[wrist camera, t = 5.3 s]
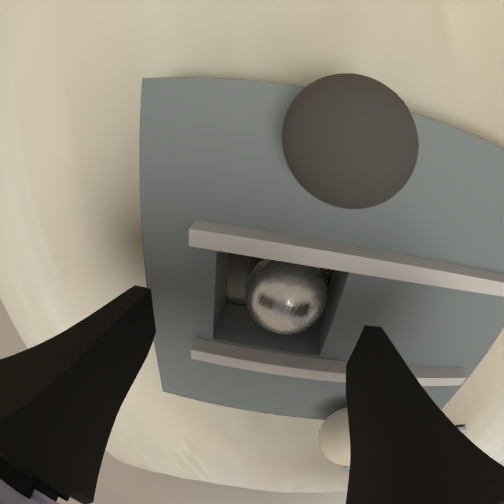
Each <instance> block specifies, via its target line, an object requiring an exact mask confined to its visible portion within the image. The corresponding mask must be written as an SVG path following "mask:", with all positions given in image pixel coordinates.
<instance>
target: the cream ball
mask: <svg viewBox="0 0 504 504" xmlns="http://www.w3.org/2000/svg"><path fill="white" fill-rule="evenodd" d="M318 441H319V447H320V449H321V451H322V453H323V455H324V456H325V457H326V458H327V459H328V460H330V461H331V462H333V463H335V464H338V465H343V466H350V435H349V423H348V412H347V407H346V408H342V409H339V410H337V411H335V412H334V413H332V414H331V415H330V416H329V417H328V418H327V419H326V420H325V421H324V423H323V424H322V426H321V428H320V431H319V437H318Z"/></svg>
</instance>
